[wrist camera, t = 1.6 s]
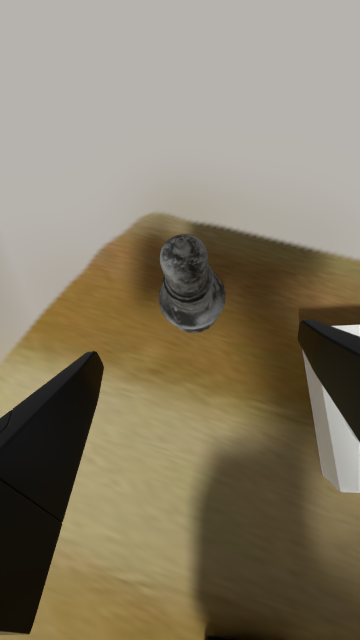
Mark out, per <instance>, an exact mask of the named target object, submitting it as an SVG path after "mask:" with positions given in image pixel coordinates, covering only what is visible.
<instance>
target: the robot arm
mask: <svg viewBox="0 0 360 640" xmlns="http://www.w3.org/2000/svg"><path fill="white" fill-rule="evenodd" d="M298 341H299V343H300V345H301V347H302V349H303V351H304V353H305V355H306V357H307V359H308V361H309V363H310V365H311V367H312V369H313V371H314V373H315V374H316V376H317V378H318V379H319V381H320V382H321V384H322V385H323V387H324V388H325V390H326V391H327V393H328V394H329V396H330V397H331V399H332V401H333V402H334V404H335V405H336V407H337V408H338V410H339V411H340V413H341V414H342V416H343V417H344V419H345V420H346V422H347V423H348V425H349V427H350V428H351V430H352V431H353V433H354V434H355V436H356V437H357V439H358V440H359V442H360V337H359V336H357V335H354V334H351V333H349V332H346V331H343V330H340V329H338V328H335V327H332V326H329V325H327V324H324V323H321V322H318V321H316V320H313V319H308V320H302V321H301V322H300V324H299V331H298ZM103 370H104V366H103V363H102V361H101V359H100V357H99V355H98V353H97V352H96V351H92V352H87V353H85V354H84V355H82V356H81V357H80V358H79V359H77V360H76V361H75V362H73V363H72V364H71V365H69V366H68V367H67V368H65V369H64V370H63V371H62V372H60V373H59V374H58V375H56V376H55V377H54V378H52V379H51V380H50V381H48V382H47V383H46V384H45V385H43V386H42V387H41V388H39V389H38V390H37V391H35V392H34V393H33V394H32V395H30V396H29V397H28V398H26V399H25V400H24V401H22V402H21V403H20V404H18V405H17V406H16V407H15V408H13V410H11V411H9V412H8V413H7V414H5V415H4V416H3V417H1V418H0V635H28V634H30V631H31V629H32V626H33V623H34V620H35V616H36V613H37V609H38V606H39V602H40V599H41V596H42V592H43V589H44V585H45V582H46V578H47V575H48V571H49V568H50V565H51V561H52V558H53V554H54V551H55V547H56V544H57V541H58V537H59V534H60V530H61V527H62V522H63V519H64V516H65V512H66V509H67V506H68V502H69V499H70V495H71V492H72V488H73V485H74V481H75V478H76V474H77V471H78V468H79V464H80V461H81V457H82V454H83V450H84V447H85V443H86V440H87V437H88V433H89V430H90V426H91V423H92V419H93V416H94V412H95V409H96V406H97V402H98V398H99V393H100V387H101V381H102V376H103ZM205 640H235V639H226V638H218V637H207V638H206V639H205Z"/></svg>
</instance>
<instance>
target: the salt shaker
mask: <svg viewBox="0 0 360 640" xmlns="http://www.w3.org/2000/svg"><path fill="white" fill-rule="evenodd" d="M160 264H161V268H162V270H163V272H164V274H163V284H162V286H161V289H160V292H159V304H160V308H161V311H162V313H163V315H164V316H165V317H166V318H167V319H168V321H169V322H171V323H172V324H174V325H175V326H177V327H178V328H180V329H181V330H183V331H186V332H191V333H197V332H202V331H204V330H206V329H208V328H209V327H210V326H212V325H213V324H214V322H215V321H216V319H217V318H218V316H219V315H220V313H221V312H222V310H223V307H224V304H225V290H224V286H223V284H222V282H221V281H220V279H219V278H218V277H217V276H216V275H215V274H214V273H213V272H212V269H211V267H210V266H209V264H208V253H207V249H206V247H205V245H204V244H203V242H202V241H201V240H200V239H199V238H197V237H195V236H192V235H188V234H180V235H176V236H174V237H172V238H170V239H169V240H168V241H167V242H166V243H165V244H164V246H163V247H162V250H161V252H160Z"/></svg>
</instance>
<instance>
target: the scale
mask: <svg viewBox="0 0 360 640" xmlns="http://www.w3.org/2000/svg"><path fill="white" fill-rule="evenodd" d="M332 327H335V328H338V329H340V330H343V331H346V332H349V333H351V334H354V335H357V336H359V337H360V325H344V326H332ZM302 351H303V349H302ZM303 357H304V363H305V370H306V376H307V382H308V389H309V395H310V401H311V407H312V414H313V420H314V426H315V433H316V439H317V445H318V452H319V458H320V464H321V471H322V476H324V477H325V478H326V479H327V480H328V481H329V482H330V483H331V484H332V485H333V486H334V487H335V488H337V489H338V490H339V491H340V492H353V493H360V442H359V440H358V439H357V437H356V436H355V434H354V433H353V431H352V430H351V428H350V427H349V425H348V423H347V422H346V420H345V419H344V417H343V416H342V414H341V413H340V411H339V410H338V408H337V407H336V405H335V404H334V402H333V401H332V399H331V397H330V396H329V394H328V393H327V391H326V390H325V388H324V387H323V385H322V384H321V382H320V381H319V379H318V378H317V376H316V374H315V373H314V371H313V369H312V367H311V365H310V363H309V361H308V359H307V357H306V355H305V353H304V351H303Z"/></svg>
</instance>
